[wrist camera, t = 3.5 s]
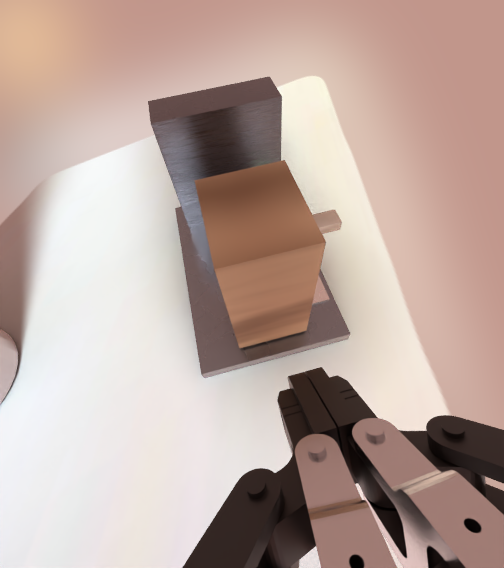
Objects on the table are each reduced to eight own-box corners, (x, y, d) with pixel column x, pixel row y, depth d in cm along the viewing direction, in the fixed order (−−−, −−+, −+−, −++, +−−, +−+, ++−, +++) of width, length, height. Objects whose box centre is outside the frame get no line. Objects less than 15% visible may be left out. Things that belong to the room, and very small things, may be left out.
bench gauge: (347, 339, 22) (398, 247, 13) (204, 378, 21) (148, 310, 12) (280, 191, 31) (282, 73, 22) (178, 215, 30) (134, 104, 21)
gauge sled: (335, 322, 22) (372, 230, 13) (239, 348, 21) (214, 269, 13) (307, 259, 25) (323, 151, 16) (223, 280, 24) (194, 180, 16)
